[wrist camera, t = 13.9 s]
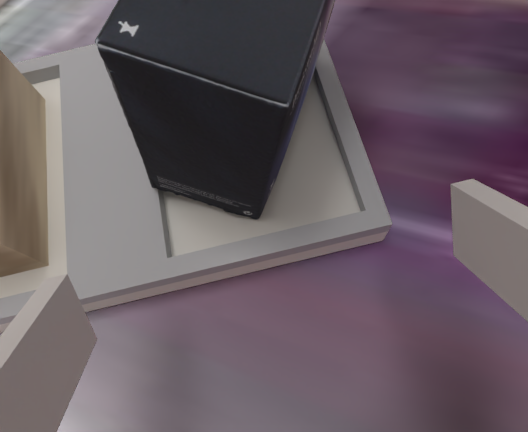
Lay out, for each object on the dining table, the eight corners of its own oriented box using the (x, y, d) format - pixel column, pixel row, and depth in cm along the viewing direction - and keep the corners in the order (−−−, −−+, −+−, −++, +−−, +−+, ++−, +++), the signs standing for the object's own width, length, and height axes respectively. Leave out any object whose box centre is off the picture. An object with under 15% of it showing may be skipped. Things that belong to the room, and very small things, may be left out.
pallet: (306, 24, 28) (306, -8, 26) (383, 240, 22) (392, 223, 20) (-79, 117, 28) (-113, 93, 26) (-108, 358, 22) (-156, 355, 20)
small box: (265, 226, 21) (297, 113, 12) (146, 189, 22) (78, 45, 12) (316, 68, 25) (374, -122, 15) (214, 37, 25) (204, -172, 15)
